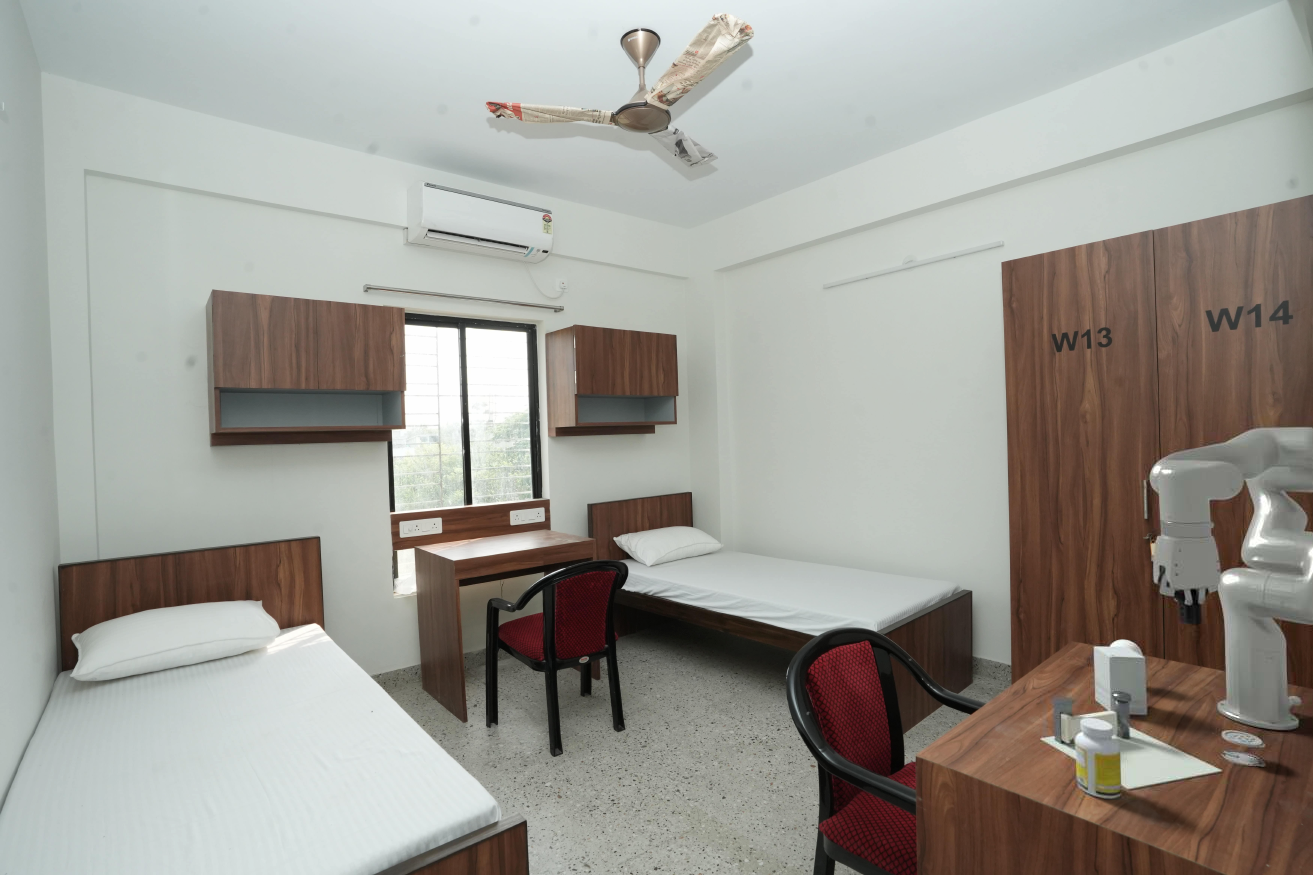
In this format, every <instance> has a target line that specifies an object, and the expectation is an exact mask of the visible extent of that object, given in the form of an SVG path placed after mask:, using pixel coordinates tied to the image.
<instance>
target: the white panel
mask: <svg viewBox="0 0 1313 875" xmlns="http://www.w3.org/2000/svg"><path fill="white" fill-rule="evenodd" d="M1084 718H1094V719H1099V720H1103V721H1106V722H1108V723H1110V724H1111V725H1112V726H1113V735H1117V713H1116V712H1113V711H1108V710H1106V711H1100V712H1099V711H1098V712H1092V713H1085V714H1080V715H1073V716H1072V717H1071V716H1070V715H1068V714H1066V713H1064V714H1061V733H1062V740H1063V741H1065V743H1066V744H1068V745H1069V744H1073V743H1074V742H1075V738H1076V736H1077V735H1078V734H1079V733H1081V732H1083V731H1082V730H1081V720H1082V719H1084Z"/></svg>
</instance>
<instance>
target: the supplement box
mask: <svg viewBox="0 0 1313 875" xmlns="http://www.w3.org/2000/svg"><path fill="white" fill-rule="evenodd" d="M1093 661H1094V663H1093V664H1094V665H1093V666H1094V667H1093V668H1094V696H1095V701H1096V702H1097V703H1098V704H1099V705H1100V706H1102V707H1103V708H1104V709H1106V711H1113V712H1115V703H1114V698H1112V692H1113V691H1121V692H1126V693H1128V694H1130V695H1131V701H1129V715H1133V716H1134V715H1135V716H1136V715H1138V716H1146V715H1148V702H1147V675H1146V657H1145V656H1141V655H1140V654H1138V653H1136V652H1135V651H1133V650H1132V649H1130V648H1128V647H1110V646H1093Z"/></svg>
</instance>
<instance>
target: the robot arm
mask: <svg viewBox="0 0 1313 875" xmlns="http://www.w3.org/2000/svg"><path fill="white" fill-rule="evenodd" d="M1244 482H1246V485H1247V489H1248V492H1249V494H1250V498H1251V500H1252V503H1253V508H1254V512H1253V516H1252V517H1251V518H1252V519H1251V521H1250V523H1249V526H1248V529H1247V531H1246V535H1245V537H1244V540H1243V543H1242V546H1241V552H1240V556H1241V559H1242V561H1243V562H1244V564H1246V565H1247V567H1234V568H1230V569H1227V570H1225V571H1223V572H1221V571H1222V570H1221V563H1220V555H1219V551H1218V547H1217V544H1216V540H1215V537H1214V535H1212V529H1213V528H1214V527H1215V523H1214V522H1213V521H1212V520H1211V508H1210V501H1213V500H1217V501H1219V500H1221V501H1222V500H1228V499H1231V498H1234V497H1235V496H1237V495H1238V494H1239V493H1240V492H1241V491H1242V489H1243V486H1244ZM1149 483H1150V486H1151V487H1152V489H1153V490H1154V491H1155V492H1156V493H1157V494H1158V501H1159V504H1158V505H1159V521H1160V522H1159V524H1160V535H1157V536H1156V540H1155V545H1154V550H1153V561H1152V562H1153V563H1152V564H1153V568H1152V571H1153V572H1152V573H1153V574H1152V575H1153V582H1154V584H1156V585H1159V586H1160V587H1159V593H1160V594H1161V595H1164V596H1168V597H1172V598H1174V601H1176V602H1178V615H1179V621H1180V622H1181V623H1182V622H1183V624H1184V623H1185V624H1187V625H1190V626H1196V625H1198V626H1199V625H1202V623H1203V622H1202V604H1204V603H1205V599H1206V597H1207V596H1208V595H1209V594H1211V593H1214V592H1216V591H1217V592H1218V596H1219V600H1220V604H1221V608H1222V615H1223V620H1224V622H1223V624H1224V648H1225V650H1224V651H1225V654H1224V655H1225V679H1226V680H1225V681H1226V682H1225V684H1226V685H1225V687H1226V688H1225V689H1226V690H1225V691H1226V699H1224V700H1221V701H1219V702H1218V703H1217V710H1218V712H1219V713H1220V714H1221V715H1223V716H1224V717H1225V718H1226V717H1227V718H1228V719H1230V720H1232V721H1235V722H1237V723H1242V724H1244V725H1248V726H1251V727H1255V728H1261V729H1267V730H1272V731H1273V730H1276V731H1291V730H1294V729H1297V728H1298V727H1299V724H1300V722H1299V721H1300V720H1299V719H1298V717H1297V716H1295V715H1294V713H1293V714H1292V713H1291V712H1290V709H1291V708H1292V707H1296V706H1297V707H1298V706H1301V705H1302V704H1303V702H1302V699H1301V698H1300V697H1298V696H1296V695H1291V696H1288V674H1287V672H1288V671H1287V670H1288V669H1287V668H1288V667H1287V665H1288V664H1287V641H1286V637H1285V634H1284V633H1283V631H1282V629H1281V628H1280V626H1279V625H1278V624H1277V622H1275V620H1274V619H1276V620H1280V621H1281V620H1282V621H1288V622H1293V623H1298V624H1302V625H1303V624H1304V625H1309V626H1310V625H1311V626H1313V531H1306V530H1305V529H1306V527H1307V524H1308V516H1307V514H1306V511H1304V509H1303V508H1302V507H1301V506H1300V504H1299V503H1297V502H1296V501H1295V500H1294V499H1293V498H1291V497H1290V496H1289V495H1288V494H1287V493H1286V492H1297V493H1299V492H1302V493H1313V427H1312V426H1311V427H1310V426H1309V427H1307V426H1306V427H1305V426H1301V427H1300V426H1296V427H1295V426H1293V427H1288V426H1286V427H1260V428H1259V427H1257V428H1252V429H1249V430H1247V431H1245V432H1243V433H1241V434H1239V435H1237V436H1235V437H1233V438H1231V439H1229V440H1227V441H1225V442H1221V443H1216V444H1211V445H1207V446H1201V447H1195V448H1191V449H1186V450H1181V451H1177V452H1174V453H1170V454H1169V455H1167V456H1164V457H1162V458H1161V459H1159V460H1158V461H1157V462H1156V463H1155V464H1154V465H1153V467H1152V468H1151V470H1150V474H1149Z"/></svg>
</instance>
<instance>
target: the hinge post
mask: <svg viewBox="0 0 1313 875" xmlns="http://www.w3.org/2000/svg"><path fill="white" fill-rule="evenodd" d="M1112 698H1114V703H1115V712H1116V713H1117V735H1116V736H1117V737H1118V738H1121V739H1130V727H1131V724H1130V721H1131V720H1130V714H1129V701H1131V695H1130V694H1128V693H1126V692H1121V691H1113V692H1112Z"/></svg>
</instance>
